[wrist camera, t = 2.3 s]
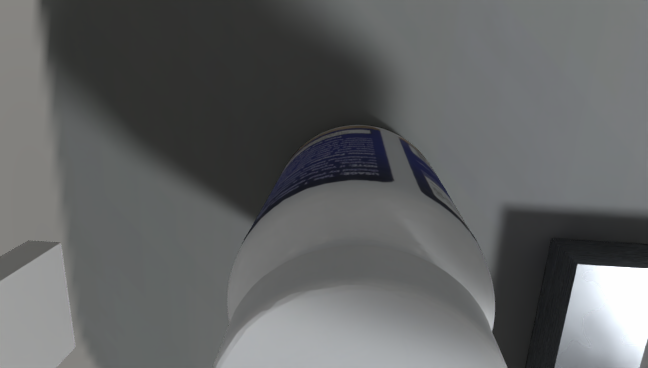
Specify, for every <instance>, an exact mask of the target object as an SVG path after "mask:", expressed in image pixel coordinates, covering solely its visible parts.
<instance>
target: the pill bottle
mask: <svg viewBox="0 0 648 368" xmlns="http://www.w3.org/2000/svg"><path fill="white" fill-rule="evenodd" d="M227 309H228V317H229V325H228V328H227V331H226V334H225V336H224V339H223V342H222V345H221V347H220V350H219V352H218V355H217V357H216V360H215V363H214V366H213V368H507V365H506V363H505V361H504V358H503V356H502V354H501V351H500V349H499V347H498V344H497V342H496V340H495V338H494V335H493V333H492V329H493V324H494V317H495V295H494V288H493V282H492V278H491V274H490V271H489V268H488V265H487V263H486V260H485V258H484V255H483V253H482V251H481V249H480V247H479V245H478V243H477V241H476V239H475V237H474V236H473V234H472V233H471V231H470V230H469V228H468V226H467V225H466V223H465V222H464V220H463V218H462V217H461V215H460V213H459V211H458V210H457V208H456V207H455V205H454V203H453V202H452V200H451V198H450V196H449V195H448V193H447V191H446V190H445V188H444V187H443V185H442V183H441V182H440V180H439V178H438V176H437V175H436V173H435V172H434V170H433V169H432V167H431V166H430V164H429V163H428V161H427V160H426V159H425V157H424V156H423V155H422V154H421V153H420V151H419V150H418V149H417V148H416V147H415V146H413V145H412V144H411V143H410V142H408V141H407V140H406V139H404V138H402V137H401V136H399V135H397V134H395V133H393V132H391V131H388V130H385V129H382V128H378V127H374V126H367V125H349V126H342V127H338V128H334V129H331V130H328V131H325V132H323V133H321V134H319V135H317V136H315V137H314V138H312V139H311V140H309V141H308V142H307V143H305V144H304V145H303V146H302V147H301V148H300V149H299V150H298V151H297V152H296V153H295V154H294V155H293V156H292V158H291V159H290V160H289V162H288V163H287V165H286V166H285V168H284V170H283V172H282V174H281V176H280V177H279V179H278V181H277V183H276V185H275V186H274V188H273V190H272V192H271V194H270V195H269V197H268V199H267V201H266V202H265V204H264V206H263V208H262V210H261V211H260V213H259V215H258V216H257V218H256V220H255V222H254V224H253V225H252V227H251V229H250V231H249V232H248V234H247V235H246V237H245V239H244V241H243V243H242V245H241V247H240V249H239V251H238V254H237V256H236V259H235V262H234V265H233V267H232V271H231V275H230V279H229V285H228V295H227Z"/></svg>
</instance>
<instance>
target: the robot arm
mask: <svg viewBox="0 0 648 368" xmlns="http://www.w3.org/2000/svg"><path fill="white" fill-rule="evenodd" d="M74 348H75V339H74V332H73V325H72V318H71V311H70V304H69V297H68V289H67V282H66V275H65V268H64V261H63V254H62V247H61V243H60V242H44V241H27V242H25V243H23V244H21V245H20V246H18V247H16V248H14V249H13V250H11V251H9V252H7V253H5V254H4V255H2V256H0V368H56V367H57V366H58V365H59V364H60V363H61V362H62V361H63V359H64V358H66V356H67V355H68V354H69V353H70V352H71V351H72V350H73V349H74ZM640 368H648V339H647V342H646V346H645V349H644V353H643V357H642V360H641V364H640Z"/></svg>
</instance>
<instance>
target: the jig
mask: <svg viewBox="0 0 648 368" xmlns="http://www.w3.org/2000/svg"><path fill="white" fill-rule="evenodd" d="M647 339H648V244H635V243H619V242H602V241H586V240H570V239H553V238H552V239H551V244H550V249H549V254H548V259H547V264H546V269H545V274H544V279H543V284H542V289H541V294H540V299H539V304H538V309H537V314H536V319H535V324H534V328H533V333H532V338H531V343H530V348H529V353H528V358H527V363H526V368H640V364H641V360H642V357H643V353H644V349H645V346H646V342H647Z"/></svg>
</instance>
